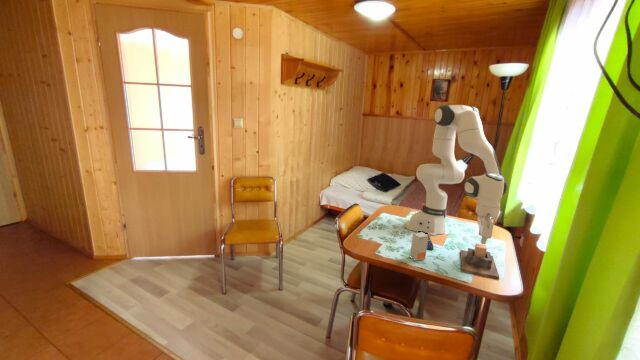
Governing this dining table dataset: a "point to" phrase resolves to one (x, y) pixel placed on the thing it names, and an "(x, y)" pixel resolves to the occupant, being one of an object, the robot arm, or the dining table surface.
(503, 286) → the dining table surface
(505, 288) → the dining table surface
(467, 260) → the socket holder
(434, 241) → the dining table surface
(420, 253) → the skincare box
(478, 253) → the square peg
